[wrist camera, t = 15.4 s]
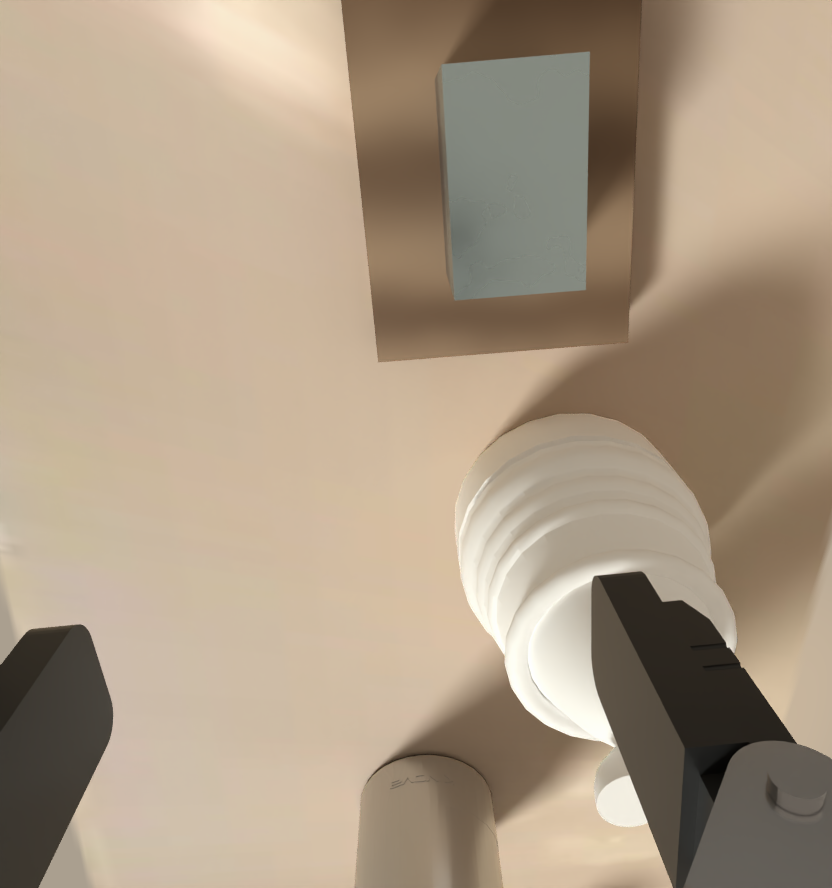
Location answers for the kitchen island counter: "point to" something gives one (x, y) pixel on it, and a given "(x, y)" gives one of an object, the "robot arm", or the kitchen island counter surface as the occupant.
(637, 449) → the honey pot
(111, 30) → the kitchen island counter surface
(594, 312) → the walnut stand
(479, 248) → the block
